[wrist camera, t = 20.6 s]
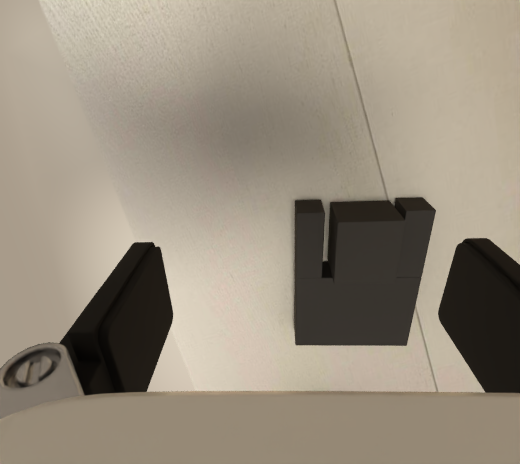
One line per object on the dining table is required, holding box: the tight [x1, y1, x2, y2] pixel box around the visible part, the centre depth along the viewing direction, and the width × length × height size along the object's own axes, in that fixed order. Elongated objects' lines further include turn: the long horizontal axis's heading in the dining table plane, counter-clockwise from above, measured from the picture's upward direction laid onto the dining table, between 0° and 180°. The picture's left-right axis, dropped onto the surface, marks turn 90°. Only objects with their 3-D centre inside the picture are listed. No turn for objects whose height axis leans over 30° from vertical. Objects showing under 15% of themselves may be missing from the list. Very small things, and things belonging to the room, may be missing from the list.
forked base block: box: [294, 198, 436, 346], centre depth 34 cm, size 12×16×3 cm
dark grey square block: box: [328, 201, 405, 284], centre depth 31 cm, size 6×6×4 cm
